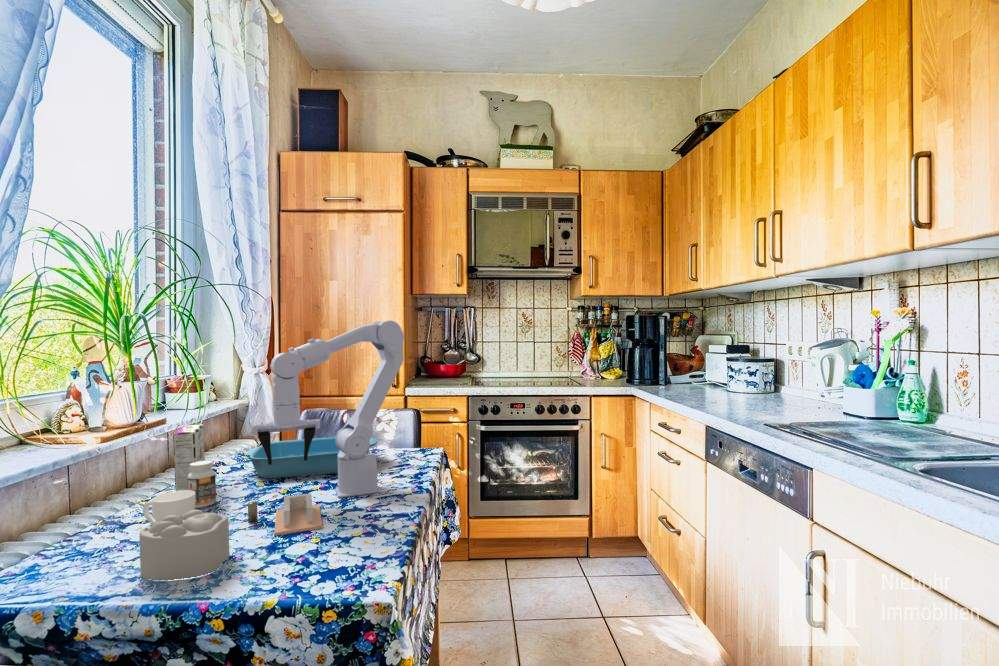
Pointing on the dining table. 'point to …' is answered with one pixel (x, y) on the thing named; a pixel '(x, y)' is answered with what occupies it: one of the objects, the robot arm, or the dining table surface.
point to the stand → (252, 512)
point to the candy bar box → (187, 452)
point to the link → (298, 507)
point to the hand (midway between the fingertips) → (288, 461)
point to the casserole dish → (297, 458)
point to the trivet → (297, 521)
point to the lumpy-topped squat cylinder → (184, 546)
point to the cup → (170, 505)
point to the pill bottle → (202, 483)
